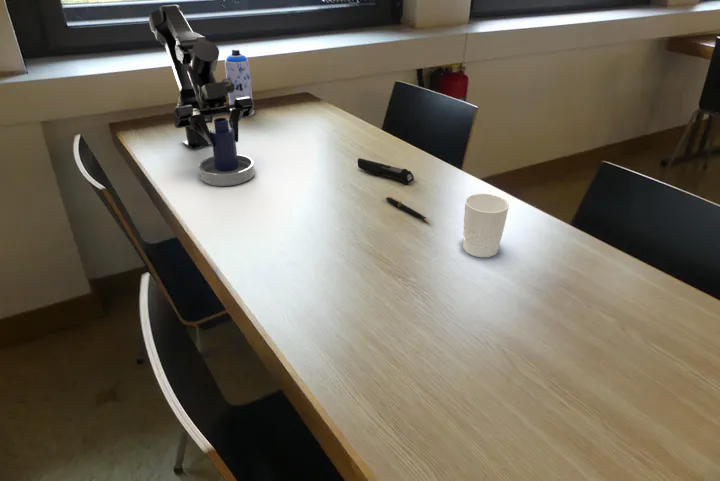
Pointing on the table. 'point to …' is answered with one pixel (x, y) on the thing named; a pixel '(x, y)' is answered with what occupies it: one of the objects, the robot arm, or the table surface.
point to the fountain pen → (405, 208)
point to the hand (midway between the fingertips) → (225, 143)
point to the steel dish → (230, 177)
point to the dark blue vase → (224, 146)
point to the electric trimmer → (386, 170)
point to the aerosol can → (238, 76)
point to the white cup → (484, 224)
